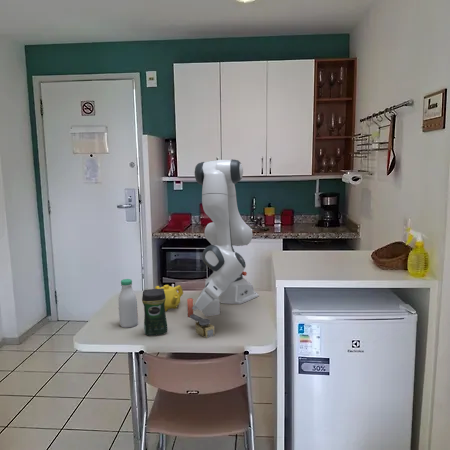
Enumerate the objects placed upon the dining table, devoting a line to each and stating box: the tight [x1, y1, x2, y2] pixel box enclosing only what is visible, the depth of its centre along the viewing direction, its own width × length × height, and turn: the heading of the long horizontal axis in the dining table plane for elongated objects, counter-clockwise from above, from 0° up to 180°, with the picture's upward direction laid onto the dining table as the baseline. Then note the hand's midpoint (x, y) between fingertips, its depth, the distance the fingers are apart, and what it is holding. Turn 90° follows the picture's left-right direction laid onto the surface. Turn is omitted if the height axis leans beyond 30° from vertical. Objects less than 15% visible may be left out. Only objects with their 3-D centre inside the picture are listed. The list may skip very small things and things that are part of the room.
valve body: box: [194, 321, 215, 339], centre depth 175 cm, size 8×5×4 cm, turn 37°
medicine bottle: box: [201, 298, 221, 317], centre depth 196 cm, size 7×7×12 cm
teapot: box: [154, 284, 184, 312], centre depth 204 cm, size 20×18×11 cm
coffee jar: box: [141, 287, 169, 337], centre depth 176 cm, size 10×8×19 cm
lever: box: [186, 297, 211, 326], centre depth 177 cm, size 13×4×8 cm, turn 39°
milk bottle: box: [118, 278, 139, 328], centre depth 184 cm, size 8×8×20 cm
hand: (194, 307), depth 181 cm, fingers closed on lever
